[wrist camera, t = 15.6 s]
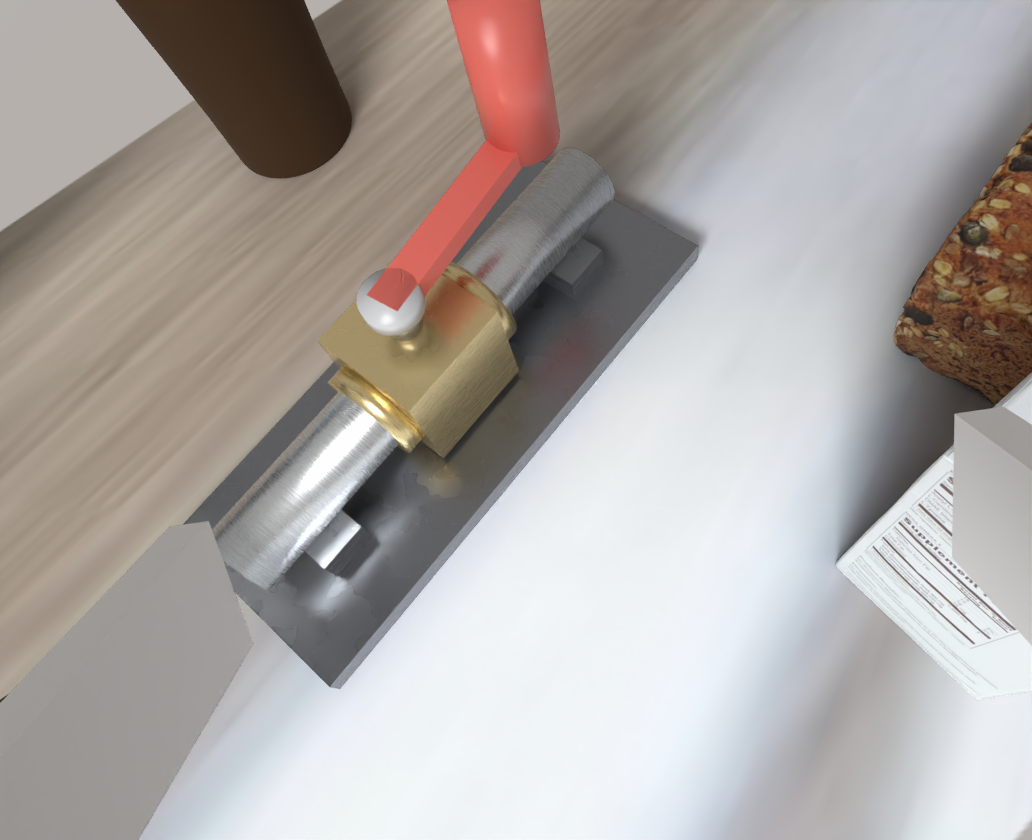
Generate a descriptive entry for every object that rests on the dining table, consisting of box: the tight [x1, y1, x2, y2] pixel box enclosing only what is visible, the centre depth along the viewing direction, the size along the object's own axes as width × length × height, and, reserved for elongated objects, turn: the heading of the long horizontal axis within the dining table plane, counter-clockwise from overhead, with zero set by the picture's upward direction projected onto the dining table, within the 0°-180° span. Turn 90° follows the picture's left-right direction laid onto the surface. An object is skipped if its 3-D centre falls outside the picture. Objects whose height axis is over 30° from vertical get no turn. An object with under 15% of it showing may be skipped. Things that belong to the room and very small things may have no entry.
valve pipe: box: [183, 148, 698, 689], centre depth 44 cm, size 34×14×11 cm, turn 141°
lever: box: [357, 0, 560, 336], centre depth 36 cm, size 16×4×9 cm, turn 147°
